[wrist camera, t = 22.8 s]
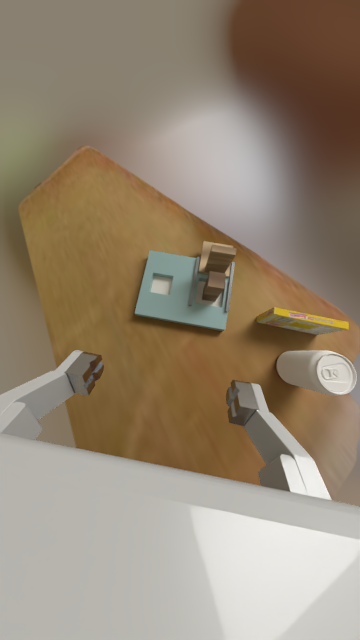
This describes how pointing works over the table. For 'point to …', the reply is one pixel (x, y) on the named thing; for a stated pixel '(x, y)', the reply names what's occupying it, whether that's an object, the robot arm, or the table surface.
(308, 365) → the beverage can
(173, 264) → the puzzle board
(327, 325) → the candy box
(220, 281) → the walnut block
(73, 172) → the table surface
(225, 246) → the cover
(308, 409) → the table surface
